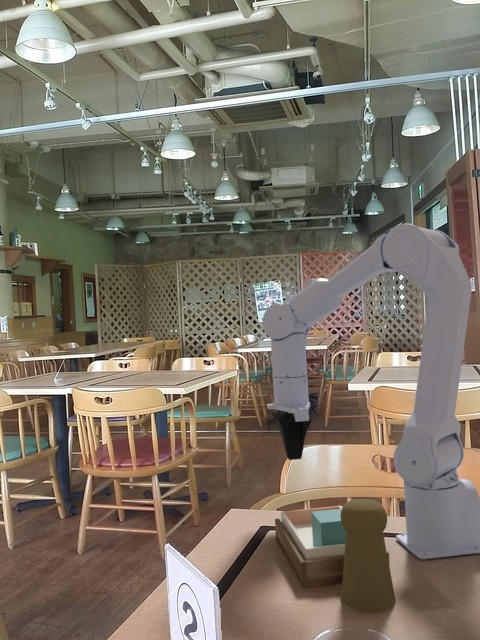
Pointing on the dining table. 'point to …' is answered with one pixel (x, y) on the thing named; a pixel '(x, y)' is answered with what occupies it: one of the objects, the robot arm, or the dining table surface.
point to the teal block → (327, 528)
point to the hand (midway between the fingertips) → (294, 458)
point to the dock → (310, 562)
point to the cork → (366, 557)
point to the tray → (308, 533)
